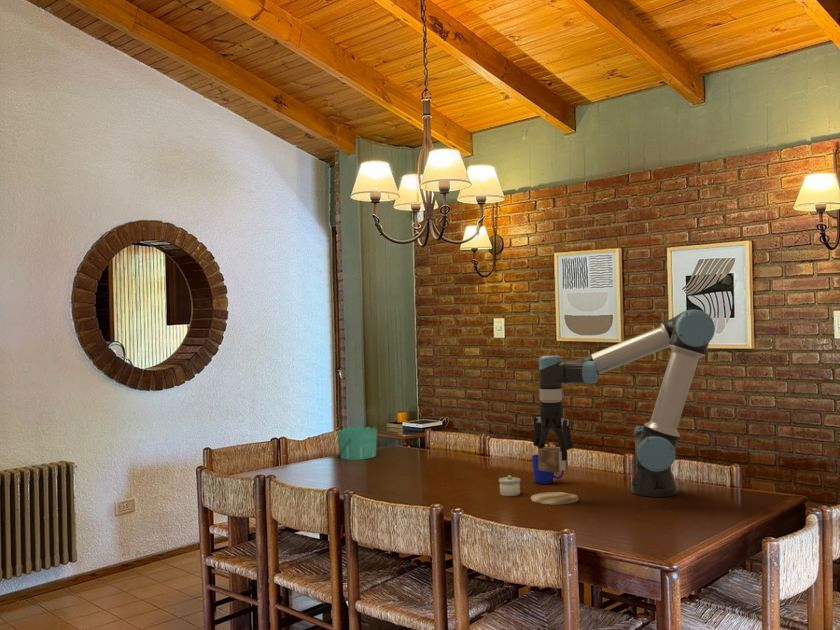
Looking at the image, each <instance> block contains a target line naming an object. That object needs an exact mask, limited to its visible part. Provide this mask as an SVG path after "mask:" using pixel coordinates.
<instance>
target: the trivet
mask: <svg viewBox="0 0 840 630" xmlns="http://www.w3.org/2000/svg"><path fill="white" fill-rule="evenodd" d="M579 500H580V499H579V496H578V495H577V494H575V493H574V494H573V493H569V492H563V491H547V492H539V493H535V494H532V495H531V496H530V501H531V502H533V503H535V504H541V505H548V504H549V505H551V506H556V505H557V506H560V505H571V504H574V503H577V502H578V501H579Z"/></svg>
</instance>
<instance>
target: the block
mask: <svg viewBox="0 0 840 630" xmlns="http://www.w3.org/2000/svg"><path fill="white" fill-rule="evenodd" d="M560 450H561V449H560V447H558V446H557V447H556V446H547V447H544V448H542V449H537V455H538V470H542V471H548V472H554V474H555V473H559V472H562V471H563V470H562V471H559V451H560ZM568 469H569V468H568V459H567V460H566V470H565V471H567V470H568Z"/></svg>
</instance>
